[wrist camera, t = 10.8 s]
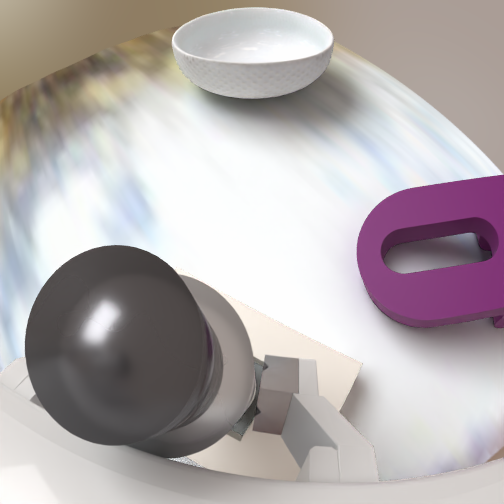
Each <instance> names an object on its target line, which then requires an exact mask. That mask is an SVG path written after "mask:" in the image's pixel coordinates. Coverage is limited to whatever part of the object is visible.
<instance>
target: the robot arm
mask: <svg viewBox="0 0 504 504" xmlns="http://www.w3.org/2000/svg"><path fill="white" fill-rule="evenodd" d="M252 431H257V432H263V433H269V434H276V435H281V438H282V439H283V441H284V443H285V444H286V446H287V448H288V449H289V451H290V453H291V454H292V456H293V458H294V459H295V461H296V462H297V464H298V466H299V467H300V469H301V470H300V472H299V474H298V476H297V478H296V480H295V481H285V480H274V479H265V478H257V477H250V476H243V475H237V474H231V473H225V472H220V471H215V470H210V469H206V468H201V467H197V466H192V465H188V464H184V463H180V462H177V461H173V460H169V459H166V458H162V457H159V456H156V455H153V454H149V453H146V452H143V451H140V450H137V449H134V448H132V447H129V446H126V445H121V446H107V445H100V444H95V443H92V442H89V441H86V440H83V439H81V438H79V437H77V436H75V435H73V434H71V433H70V432H68V431H67V430H65V429H64V428H63V427H61V426H60V425H59V424H58V423H57V422H56V421H55V420H54V419H53V418H52V417H51V416H50V415H49V414H48V412H47V411H46V410H45V408H44V407H43V405H42V404H41V402H40V401H39V399H38V397H37V395H36V393H35V391H34V389H33V386H32V384H31V381H30V378H29V374H28V370H27V365H26V357H22V358H18V359H15V360H14V361H13V362H12V363H11V364H10V365H9V366H7V367H6V368H5V369H4V370H3V371H2V372H1V373H0V504H504V458H500V459H497V460H494V461H491V462H487V463H484V464H480V465H476V466H472V467H468V468H464V469H460V470H455V471H451V472H446V473H440V474H435V475H429V476H423V477H416V478H408V479H399V480H389V481H379V475H378V469H377V463H376V457H375V452H374V446H373V445H372V444H371V443H370V442H369V441H368V440H367V439H366V438H365V437H364V436H363V435H361V434H360V433H359V432H358V431H357V430H356V429H355V428H354V427H353V426H352V425H351V424H350V423H349V422H348V421H347V420H346V419H345V418H344V417H343V415H342V414H341V413H340V412H339V411H338V410H337V409H336V408H335V407H334V406H333V405H332V404H331V403H330V402H329V401H328V400H327V399H326V398H325V397H324V396H319V392H318V378H317V366H316V360H315V359H306V358H290V357H282V356H275V355H267V354H265V358H264V364H263V369H262V375H261V381H260V387H259V393H258V399H257V405H256V411H255V417H254V423H253V429H252Z"/></svg>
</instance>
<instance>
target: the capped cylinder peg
mask: <svg viewBox="0 0 504 504" xmlns="http://www.w3.org/2000/svg"><path fill="white" fill-rule="evenodd" d="M25 357H26V365H27V370H28V374H29V378H30V381H31V384H32V386H33V389H34V391H35V393H36V395H37V397H38V399H39V401H40V402H41V404H42V405H43V407H44V408H45V410H46V411H47V412H48V414H49V415H50V416H51V417H52V418H53V419H54V420H55V421H56V422H57V423H58V424H59V425H60V426H61V427H63V428H64V429H65V430H67V431H68V432H70V433H71V434H73V435H75V436H77V437H79V438H81V439H83V440H86V441H89V442H92V443H95V444H100V445H107V446H121V445H126V446H129V447H132V448H134V449H137V450H140V451H143V452H146V453H149V454H153V455H156V456H159V457H162V458H179V457H184V456H188V455H192V454H195V453H197V452H200V451H203V450H204V449H206V448H208V447H210V446H212V445H213V444H215V443H216V442H217V441H219V440H220V439H221V438H223V437H224V436H225V435H226V434H227V433H228V432H229V431H230V430H231V429H232V428H233V427H234V425H235V424H236V423H237V422H238V420H239V419H240V418H241V416H242V415H243V414H244V413H245V411H246V410H247V409H248V407H249V406H250V405H251V403H252V402H253V400H254V398H255V394H256V379H255V369H254V358H253V351H252V346H251V342H250V338H249V336H248V333H247V330H246V328H245V326H244V324H243V322H242V320H241V318H240V317H239V315H238V314H237V312H236V311H235V309H234V308H233V307H232V306H231V304H230V303H229V302H228V301H227V300H226V299H225V298H224V297H223V296H222V295H220V294H219V293H218V292H217V291H216V290H214V289H213V288H211V287H210V286H208V285H207V284H205V283H203V282H201V281H199V280H196V279H194V278H191V277H188V276H185V275H181V274H177V272H176V271H175V270H174V269H173V268H172V267H170V266H169V265H168V264H167V263H166V262H164V261H163V260H162V259H160V258H159V257H157V256H155V255H153V254H151V253H149V252H147V251H145V250H142V249H139V248H135V247H130V246H122V245H111V246H102V247H98V248H94V249H91V250H88V251H85V252H83V253H81V254H79V255H77V256H75V257H73V258H72V259H70V260H69V261H67V262H66V263H64V264H63V265H62V266H61V267H60V268H59V269H58V270H56V271H55V273H54V274H53V275H52V276H51V277H50V278H49V279H48V281H47V282H46V283H45V285H44V286H43V287H42V289H41V291H40V292H39V294H38V296H37V298H36V300H35V302H34V304H33V307H32V309H31V312H30V316H29V319H28V323H27V328H26V336H25Z"/></svg>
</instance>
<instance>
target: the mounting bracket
mask: <svg viewBox="0 0 504 504" xmlns="http://www.w3.org/2000/svg"><path fill="white" fill-rule="evenodd" d="M463 233H476V235H477V239H478V242H479V246H480V247H481V248H482V249H483V250H486V251H492V258H490V259H489V260H486V261H482V262H476V263H471V264H465V265H459V266H453V267H446V268H440V269H434V270H427V271H421V272H414V273H407V274H401V273H397V272H394V271H392V270H390V269H389V268H388V267H387V266H386V265H385V264H384V262H383V260H384V257H385V255H386V253H387V251H388V250H389V249H390V248H391V247H393V246H395V245H397V244H400V243H406V242H412V241H419V240H425V239H432V238H438V237H444V236H451V235H457V234H463ZM357 262H358V267H359V271H360V274H361V277H362V279H363V282H364V285H365V287H366V290H367V292H368V294H369V296H370V298H371V299H372V301H373V302H374V303H375V305H376V306H377V307H378V308H379V309H380V310H381V311H382V312H383V313H385V314H386V315H387V316H389V317H390V318H392V319H393V320H395V321H397V322H400V323H402V324H405V325H408V326H412V327H420V328H429V327H437V326H444V325H450V324H456V323H462V322H468V321H473V320H478V319H484V318H489V317H493V319H494V326H495V327H496V328H504V175H498V176H490V177H482V178H475V179H468V180H461V181H454V182H448V183H441V184H434V185H428V186H422V187H415V188H410V189H406V190H402V191H399V192H397V193H395V194H393V195H391V196H389V197H387V198H386V199H384V200H383V201H382V202H380V203H379V204H378V205H377V206H376V207H375V208H374V209H373V210H372V211H371V213H370V214H369V215H368V217H367V218H366V220H365V222H364V224H363V226H362V228H361V231H360V233H359V237H358V243H357Z"/></svg>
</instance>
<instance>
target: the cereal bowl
mask: <svg viewBox="0 0 504 504" xmlns="http://www.w3.org/2000/svg"><path fill="white" fill-rule="evenodd" d="M333 46H334V37H333V34H332V33H331V31H330V30H329V29H328V28H327V27H326V26H325V25H324V24H322V23H321V22H319V21H317V20H315V19H313V18H311V17H309V16H306V15H303V14H300V13H296V12H292V11H287V10H282V9H273V8H238V9H231V10H224V11H219V12H215V13H211V14H208V15H205V16H201V17H199V18H196V19H194V20H192V21H190V22H188V23H186V24H184V25H183V26H182V27H180V28H179V29H178V30H177V31H176V32H175V34H174V35H173V38H172V48H173V52H174V55H175V59H176V61H177V64H178V66H179V68H180V70H181V71H182V73H183V74H184V75H185V76H186V77H187V78H188V79H189V80H190V81H191V82H192V83H194V84H195V85H197V86H198V87H201V88H203V89H205V90H207V91H209V92H212V93H215V94H219V95H223V96H227V97H235V98H245V99H246V98H250V99H251V98H254V99H256V98H258V99H259V98H269V97H276V96H281V95H286V94H289V93H292V92H295V91H297V90H301V89H302V88H304V87H306V86H308V85H309V84H311V83H312V82H313V81H315V80H316V79H317V78H318V77H320V76H321V74H322V73H324V71H325V69H326V68H327V65H328V64H329V62H330V59H331V55H332V52H333Z"/></svg>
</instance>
